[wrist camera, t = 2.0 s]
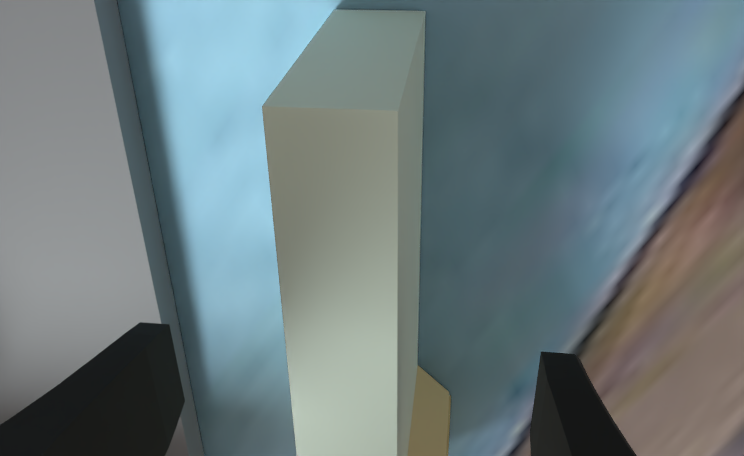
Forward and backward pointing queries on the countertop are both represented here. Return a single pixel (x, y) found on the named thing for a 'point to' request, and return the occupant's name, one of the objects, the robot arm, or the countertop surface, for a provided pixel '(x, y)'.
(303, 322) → the door
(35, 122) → the cabinet base
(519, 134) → the countertop surface
